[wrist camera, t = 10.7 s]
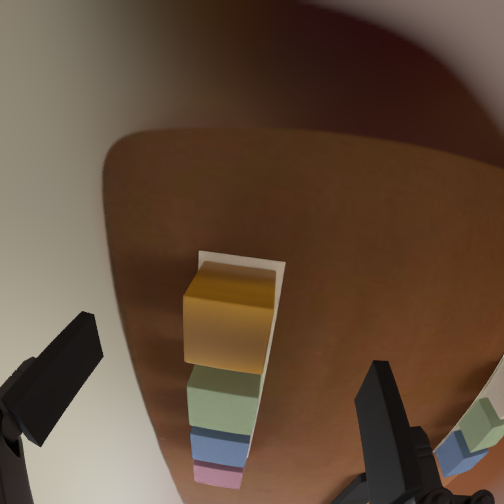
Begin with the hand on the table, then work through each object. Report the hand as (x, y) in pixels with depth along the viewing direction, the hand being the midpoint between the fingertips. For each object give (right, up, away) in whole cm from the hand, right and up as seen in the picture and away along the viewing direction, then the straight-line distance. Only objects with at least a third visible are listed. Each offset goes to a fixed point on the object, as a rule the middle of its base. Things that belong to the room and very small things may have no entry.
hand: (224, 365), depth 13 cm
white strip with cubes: (+27, -10, +8) cm, 30 cm away
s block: (0, +2, +6) cm, 7 cm away
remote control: (+16, -29, +17) cm, 37 cm away
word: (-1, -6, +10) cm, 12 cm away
